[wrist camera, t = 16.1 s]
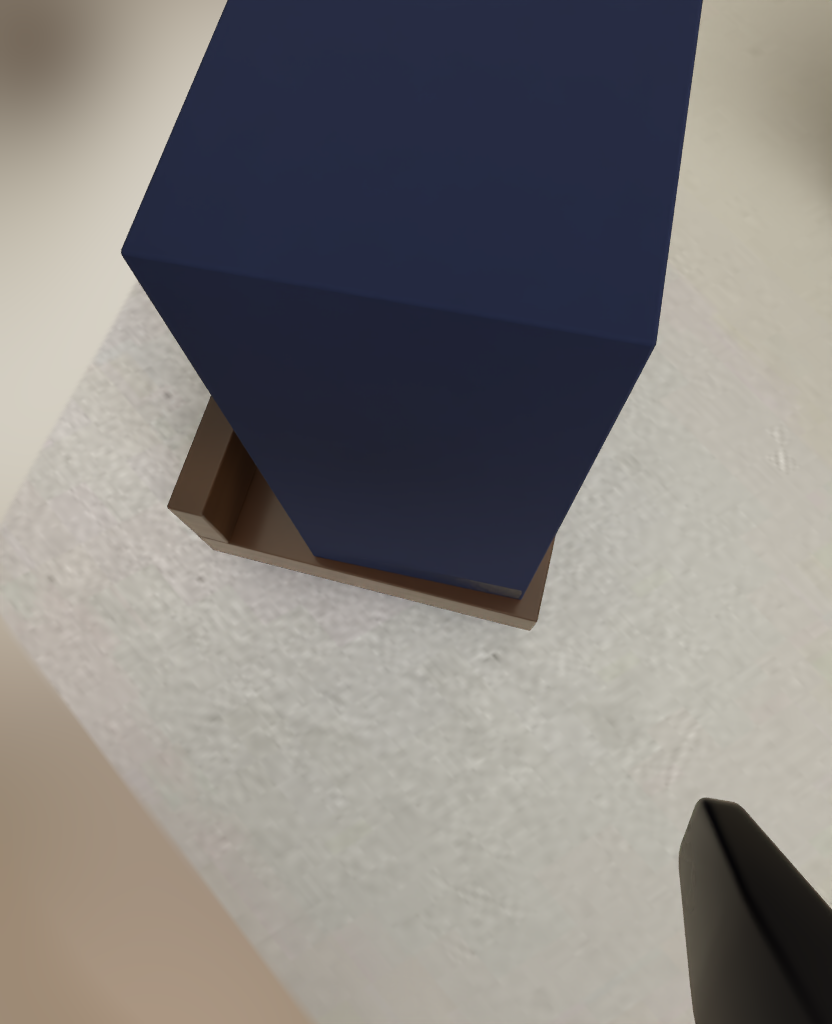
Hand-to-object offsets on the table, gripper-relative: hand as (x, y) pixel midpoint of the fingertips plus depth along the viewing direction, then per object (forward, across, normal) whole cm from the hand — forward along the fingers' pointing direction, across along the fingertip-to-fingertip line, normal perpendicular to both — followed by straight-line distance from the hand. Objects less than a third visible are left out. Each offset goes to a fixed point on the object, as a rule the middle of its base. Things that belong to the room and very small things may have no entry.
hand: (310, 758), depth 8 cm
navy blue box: (+16, -1, 0) cm, 16 cm away
